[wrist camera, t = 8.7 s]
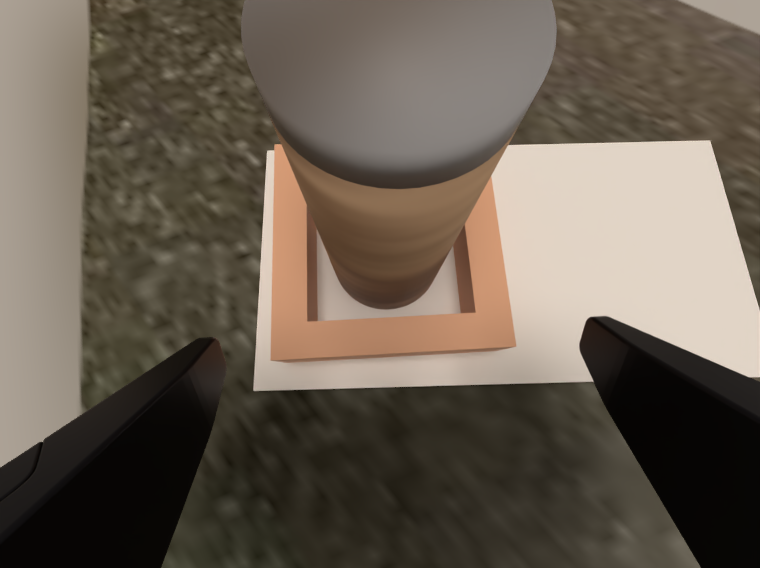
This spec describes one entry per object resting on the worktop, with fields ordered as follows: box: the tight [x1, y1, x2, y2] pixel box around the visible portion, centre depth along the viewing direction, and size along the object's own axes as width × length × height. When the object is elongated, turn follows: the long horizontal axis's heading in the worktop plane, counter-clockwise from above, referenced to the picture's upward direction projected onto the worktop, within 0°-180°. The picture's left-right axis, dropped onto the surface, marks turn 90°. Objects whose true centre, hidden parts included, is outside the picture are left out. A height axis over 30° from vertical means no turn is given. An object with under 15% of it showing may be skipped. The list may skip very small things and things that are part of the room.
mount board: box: [253, 141, 760, 391], centre depth 18 cm, size 23×12×1 cm, turn 92°
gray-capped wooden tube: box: [241, 0, 557, 310], centre depth 12 cm, size 5×5×12 cm
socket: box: [270, 144, 516, 363], centre depth 16 cm, size 9×9×2 cm
